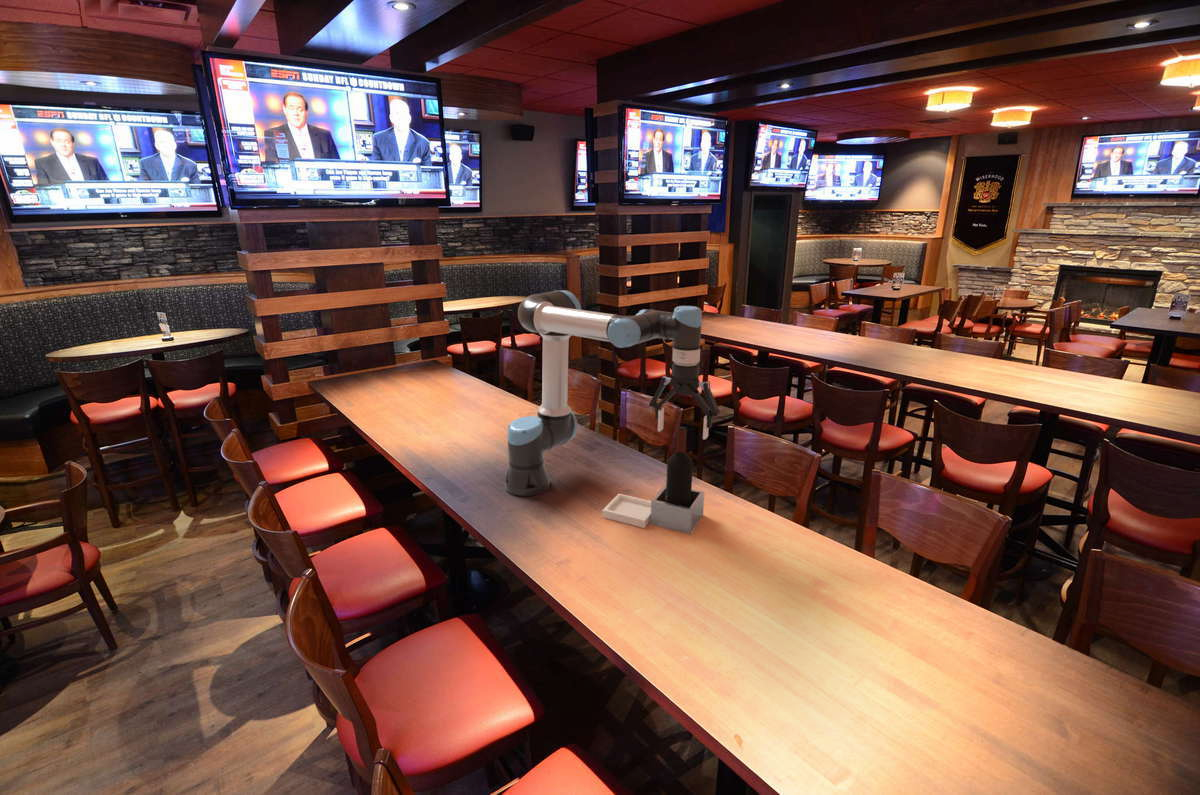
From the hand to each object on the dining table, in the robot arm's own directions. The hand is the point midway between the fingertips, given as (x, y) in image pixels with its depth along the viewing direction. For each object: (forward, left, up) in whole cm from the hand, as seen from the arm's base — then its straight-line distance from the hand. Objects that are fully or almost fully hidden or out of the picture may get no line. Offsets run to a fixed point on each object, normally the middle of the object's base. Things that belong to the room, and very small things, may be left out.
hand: (682, 433), depth 167 cm
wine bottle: (0, 0, -29) cm, 29 cm away
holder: (0, 0, -28) cm, 28 cm away
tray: (-14, -3, -28) cm, 32 cm away
